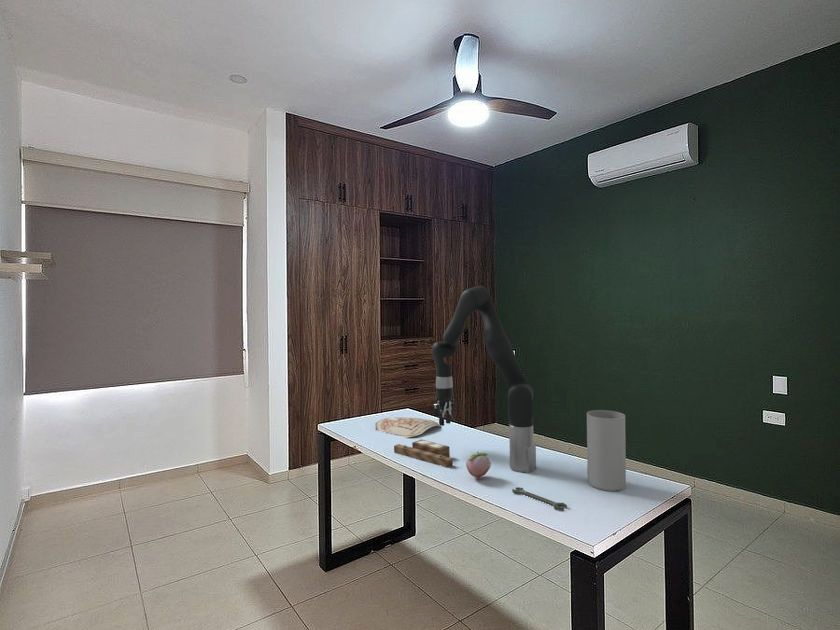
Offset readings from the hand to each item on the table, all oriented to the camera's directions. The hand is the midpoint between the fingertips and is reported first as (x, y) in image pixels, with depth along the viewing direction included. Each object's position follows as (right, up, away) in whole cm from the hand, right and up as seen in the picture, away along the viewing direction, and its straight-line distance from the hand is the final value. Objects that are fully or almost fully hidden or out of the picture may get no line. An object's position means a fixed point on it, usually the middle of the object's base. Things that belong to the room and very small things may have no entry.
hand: (444, 424), depth 201 cm
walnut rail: (-10, -12, -12) cm, 20 cm away
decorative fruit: (+10, -12, -34) cm, 37 cm away
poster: (-18, -12, +36) cm, 42 cm away
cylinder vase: (+55, -11, -42) cm, 70 cm away
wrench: (+28, -12, -53) cm, 61 cm away
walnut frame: (-7, -12, -8) cm, 16 cm away
